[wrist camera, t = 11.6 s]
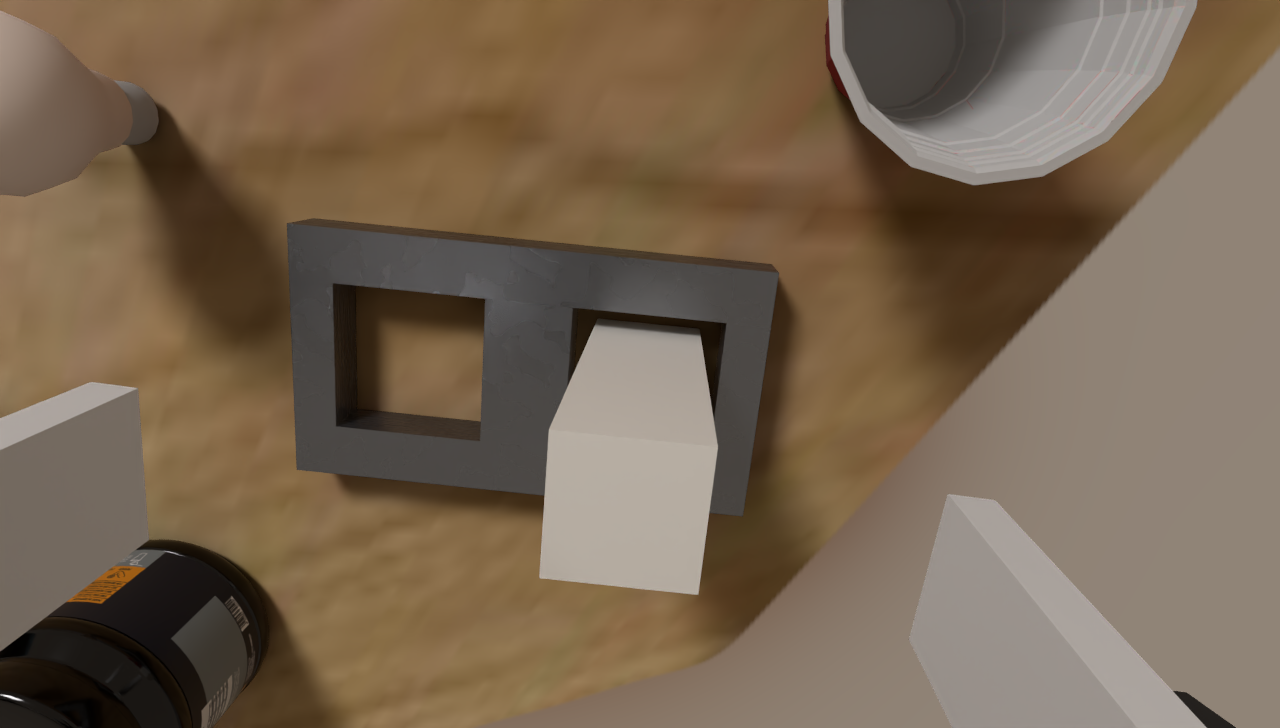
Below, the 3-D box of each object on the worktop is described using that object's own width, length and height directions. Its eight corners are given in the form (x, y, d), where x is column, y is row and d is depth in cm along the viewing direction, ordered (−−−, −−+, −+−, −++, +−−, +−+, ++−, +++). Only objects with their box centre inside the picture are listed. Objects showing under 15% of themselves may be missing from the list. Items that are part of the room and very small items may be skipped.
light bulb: (238, 142, 34) (47, 139, 24) (132, 212, 36) (-95, 239, 25) (148, 8, 33) (-98, -59, 22) (40, 86, 34) (-242, 57, 24)
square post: (590, 413, 38) (539, 578, 23) (597, 318, 36) (548, 429, 22) (688, 424, 37) (698, 595, 23) (699, 328, 36) (718, 447, 22)
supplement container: (61, 554, 41) (-176, 712, 30) (230, 510, 40) (52, 656, 28) (146, 706, 44) (-41, 904, 32) (307, 670, 43) (172, 862, 31)
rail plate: (320, 449, 39) (296, 469, 36) (313, 218, 35) (287, 223, 33) (738, 493, 38) (742, 516, 36) (771, 264, 35) (779, 272, 33)
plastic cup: (933, 215, 34) (1066, 249, 23) (726, 104, 33) (756, 81, 22) (1075, -18, 31) (1312, -115, 20) (853, -147, 30) (966, -328, 19)
